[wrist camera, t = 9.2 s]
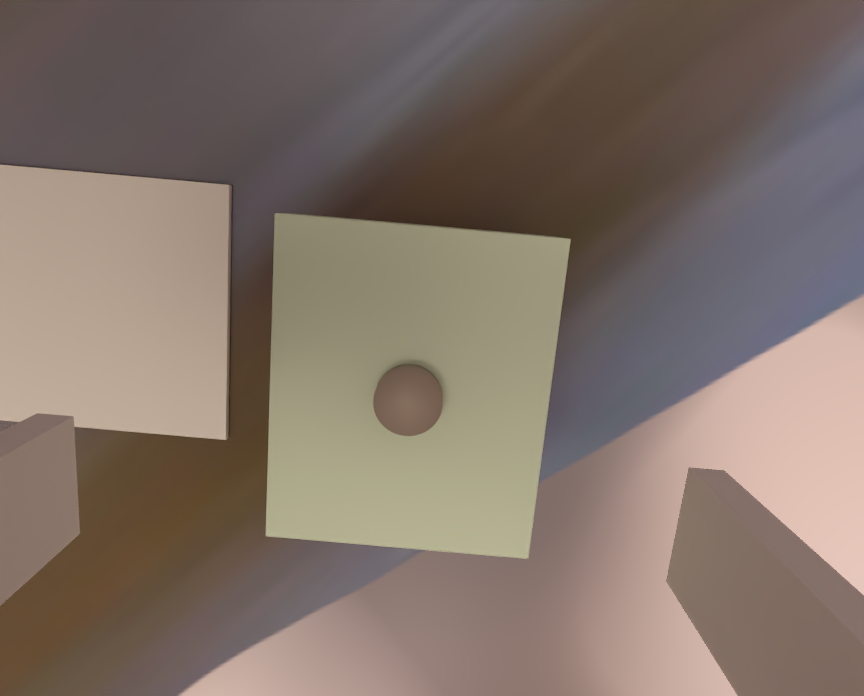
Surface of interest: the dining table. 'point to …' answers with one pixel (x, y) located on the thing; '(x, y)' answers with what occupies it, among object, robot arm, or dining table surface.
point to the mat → (115, 301)
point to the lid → (410, 382)
